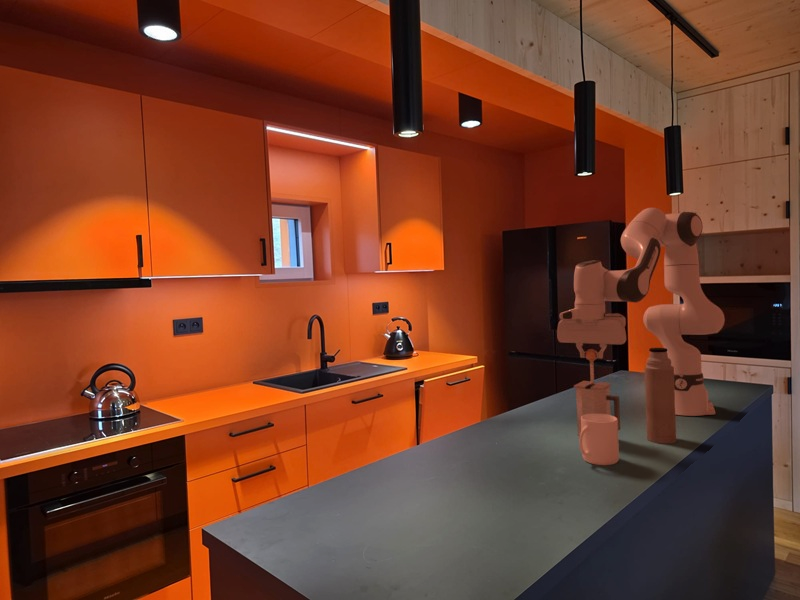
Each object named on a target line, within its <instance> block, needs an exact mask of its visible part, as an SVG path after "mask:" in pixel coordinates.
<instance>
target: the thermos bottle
mask: <svg viewBox="0 0 800 600" xmlns="http://www.w3.org/2000/svg"><path fill="white" fill-rule="evenodd" d="M645 363H646V365H644V388H645V390H644V391H645V392H644V393H645V412H646V413H645V415H646V416H645V418H646V421H645V422H646V439H647V440H648V441H649V442H653V443H657V444H664V445H666V444H673V443H675V442H677V428H676V427H677V426H676V424H677V423H676V421H677V420H676V414H675V388H674V367H673V366H671V363H672V362H671V359H669V358H668V354H667V349H666V348H664V347H650V348H649V357H648V358H647V359H646V362H645Z"/></svg>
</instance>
